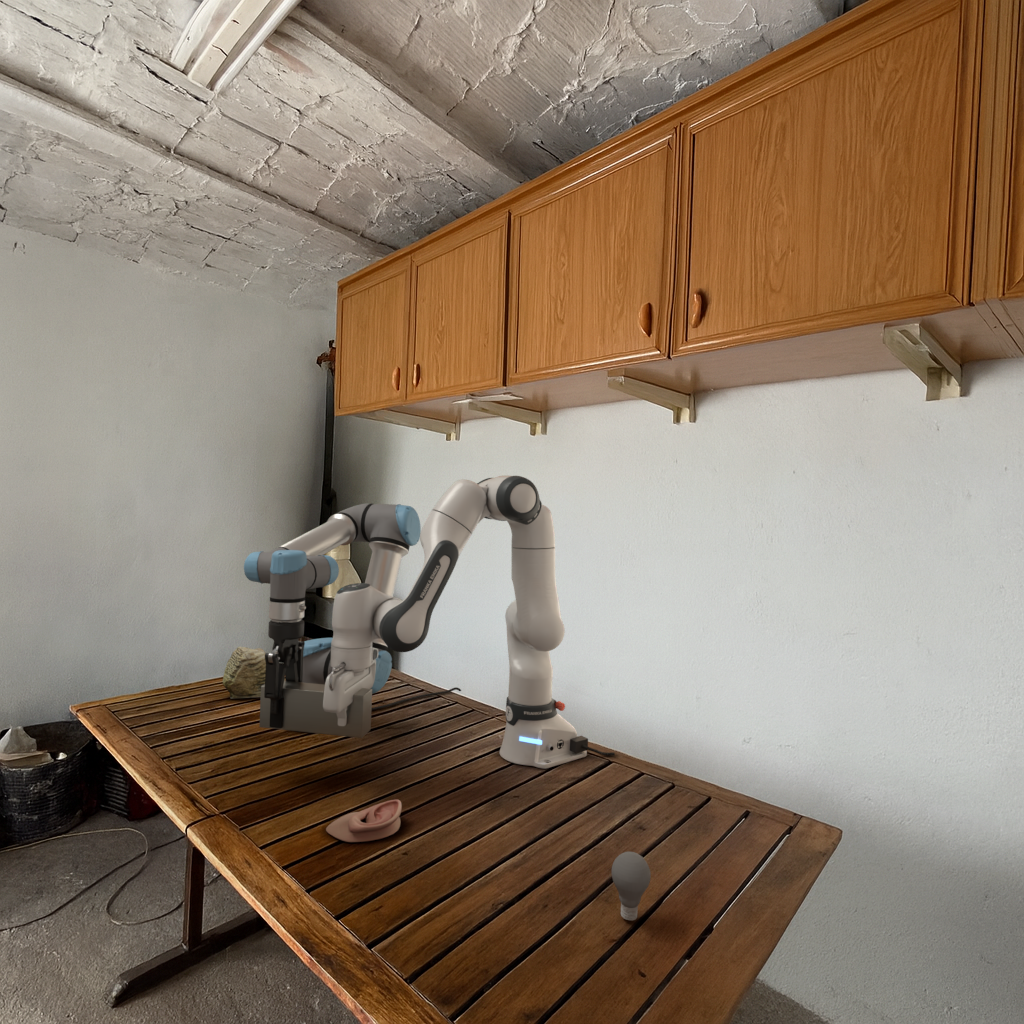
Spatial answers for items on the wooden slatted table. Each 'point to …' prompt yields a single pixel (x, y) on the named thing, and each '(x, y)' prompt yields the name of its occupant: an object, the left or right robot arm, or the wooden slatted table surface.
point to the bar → (318, 711)
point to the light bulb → (630, 881)
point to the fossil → (245, 673)
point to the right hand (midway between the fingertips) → (349, 719)
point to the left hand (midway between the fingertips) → (282, 722)
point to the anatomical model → (368, 823)
